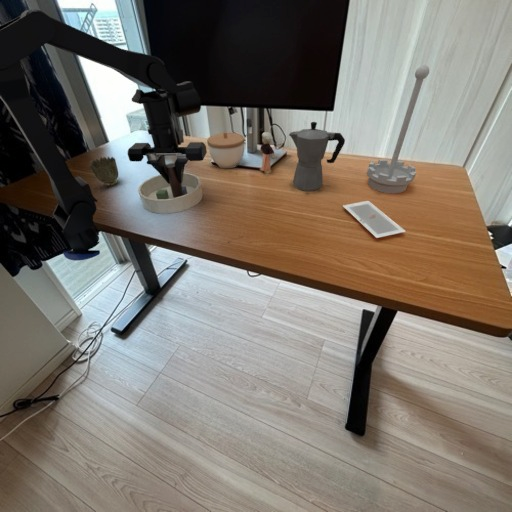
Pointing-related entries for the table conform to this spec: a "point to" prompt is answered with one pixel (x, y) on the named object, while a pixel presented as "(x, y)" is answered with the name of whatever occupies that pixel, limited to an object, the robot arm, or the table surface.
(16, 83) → the robot arm
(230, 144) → the lidded bowl
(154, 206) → the bowl
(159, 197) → the green block
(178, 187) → the brown cylinder
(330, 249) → the table surface
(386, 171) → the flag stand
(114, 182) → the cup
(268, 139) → the grandmother figurine
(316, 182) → the coffeepot
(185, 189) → the blue block
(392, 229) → the touchpad
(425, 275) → the table surface
